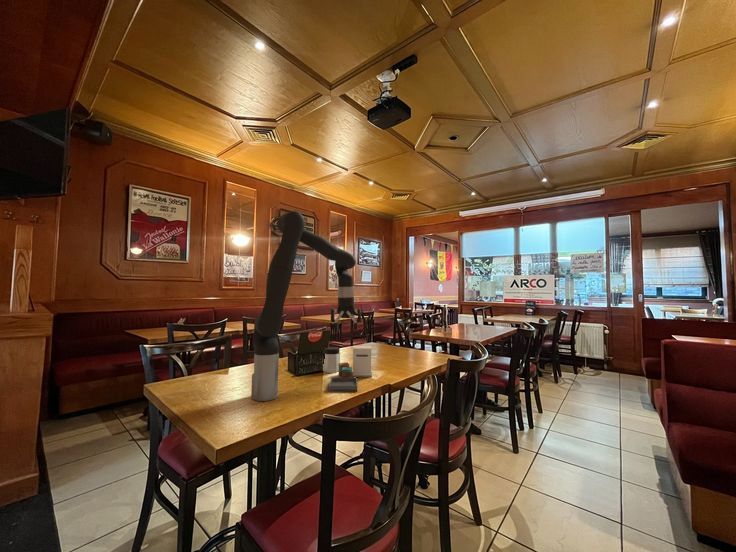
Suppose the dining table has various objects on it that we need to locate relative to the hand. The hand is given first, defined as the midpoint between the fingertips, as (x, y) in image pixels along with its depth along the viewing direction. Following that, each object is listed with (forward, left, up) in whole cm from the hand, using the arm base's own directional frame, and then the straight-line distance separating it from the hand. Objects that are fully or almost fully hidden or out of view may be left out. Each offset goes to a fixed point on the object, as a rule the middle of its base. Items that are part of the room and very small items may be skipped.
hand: (346, 330), depth 142 cm
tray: (0, -9, -23) cm, 25 cm away
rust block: (-1, +9, -24) cm, 25 cm away
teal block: (+1, 0, -24) cm, 24 cm away
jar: (-8, +18, -24) cm, 31 cm away
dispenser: (+8, +10, -23) cm, 27 cm away
